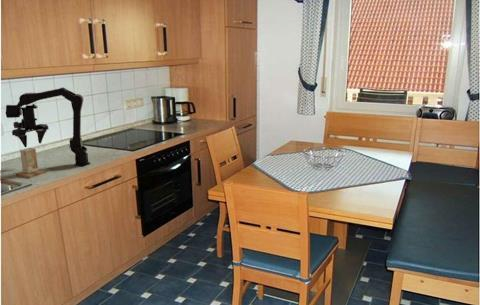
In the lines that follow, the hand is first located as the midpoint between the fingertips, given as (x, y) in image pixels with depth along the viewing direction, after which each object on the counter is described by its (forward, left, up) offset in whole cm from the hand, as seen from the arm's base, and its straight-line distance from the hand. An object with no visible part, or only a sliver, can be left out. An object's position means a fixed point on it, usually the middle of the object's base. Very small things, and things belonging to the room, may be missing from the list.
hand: (32, 145), depth 222 cm
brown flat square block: (+9, +7, -14) cm, 18 cm away
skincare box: (+9, +7, -12) cm, 16 cm away
